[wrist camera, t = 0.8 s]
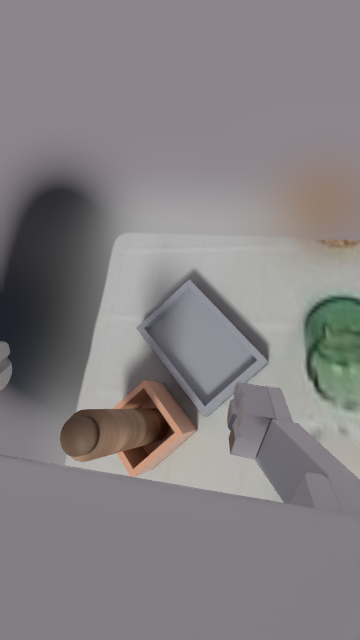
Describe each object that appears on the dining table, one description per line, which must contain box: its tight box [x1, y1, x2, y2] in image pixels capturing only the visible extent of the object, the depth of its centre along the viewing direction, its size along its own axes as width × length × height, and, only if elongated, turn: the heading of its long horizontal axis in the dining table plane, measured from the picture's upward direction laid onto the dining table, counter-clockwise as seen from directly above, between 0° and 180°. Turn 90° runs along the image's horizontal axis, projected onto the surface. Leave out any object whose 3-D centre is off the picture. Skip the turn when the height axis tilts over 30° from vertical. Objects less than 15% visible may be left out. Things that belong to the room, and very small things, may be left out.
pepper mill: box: [60, 408, 171, 462], centre depth 37 cm, size 5×5×19 cm
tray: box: [137, 279, 268, 417], centre depth 46 cm, size 12×18×2 cm, turn 39°
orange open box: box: [113, 380, 197, 477], centre depth 43 cm, size 9×9×7 cm
